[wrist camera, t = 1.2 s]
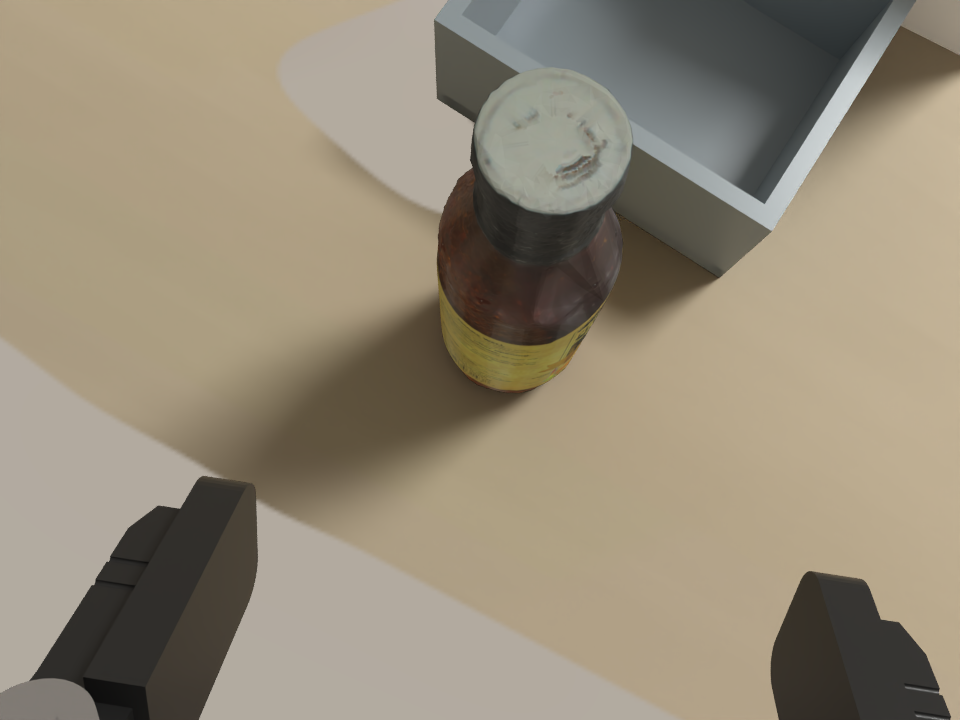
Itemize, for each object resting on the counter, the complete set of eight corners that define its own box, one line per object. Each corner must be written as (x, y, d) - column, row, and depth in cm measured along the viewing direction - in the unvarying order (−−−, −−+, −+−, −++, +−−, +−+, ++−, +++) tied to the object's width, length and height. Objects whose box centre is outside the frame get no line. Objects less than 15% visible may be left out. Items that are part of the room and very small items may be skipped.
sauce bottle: (580, 393, 41) (698, 281, 21) (443, 399, 41) (436, 293, 21) (570, 255, 42) (673, 28, 22) (437, 261, 42) (424, 36, 22)
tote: (436, 98, 43) (434, 19, 36) (580, -100, 45) (603, -211, 38) (719, 277, 42) (772, 231, 35) (853, 66, 44) (927, -18, 37)
